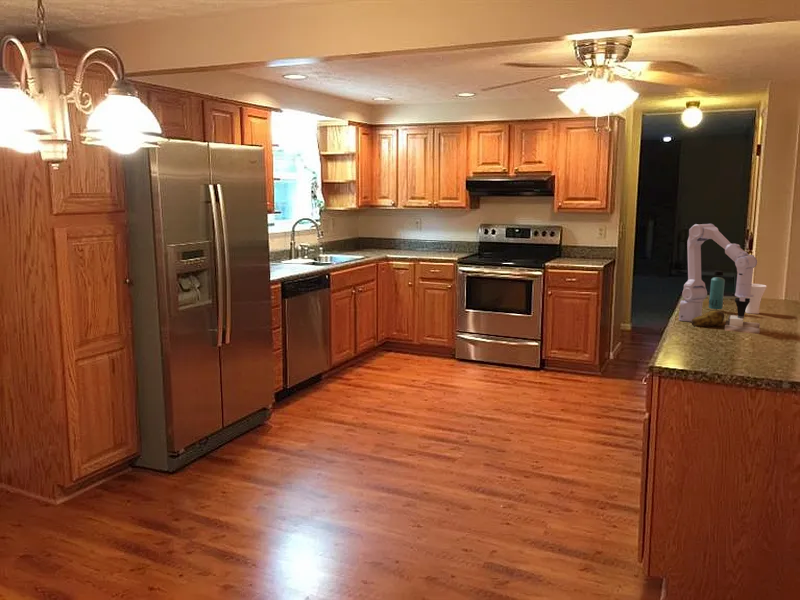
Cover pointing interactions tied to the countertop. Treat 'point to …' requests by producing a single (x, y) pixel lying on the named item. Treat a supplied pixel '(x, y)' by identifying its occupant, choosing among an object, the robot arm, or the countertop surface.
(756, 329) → the press board
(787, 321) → the countertop surface
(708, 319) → the potato
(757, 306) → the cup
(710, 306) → the beverage bottle
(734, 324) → the block
